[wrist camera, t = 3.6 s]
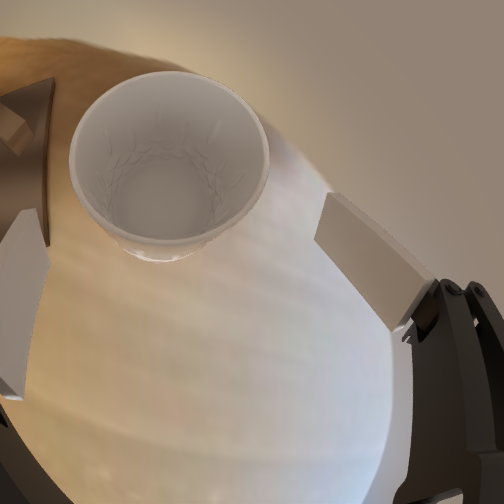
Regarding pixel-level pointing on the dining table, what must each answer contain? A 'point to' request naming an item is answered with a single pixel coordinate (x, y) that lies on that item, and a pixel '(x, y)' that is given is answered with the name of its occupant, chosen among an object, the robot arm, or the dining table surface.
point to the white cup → (168, 163)
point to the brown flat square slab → (24, 153)
